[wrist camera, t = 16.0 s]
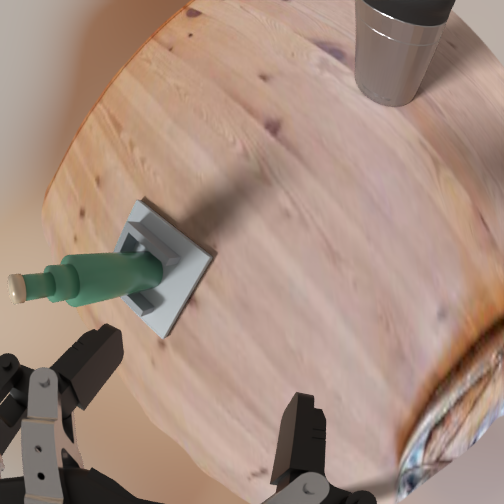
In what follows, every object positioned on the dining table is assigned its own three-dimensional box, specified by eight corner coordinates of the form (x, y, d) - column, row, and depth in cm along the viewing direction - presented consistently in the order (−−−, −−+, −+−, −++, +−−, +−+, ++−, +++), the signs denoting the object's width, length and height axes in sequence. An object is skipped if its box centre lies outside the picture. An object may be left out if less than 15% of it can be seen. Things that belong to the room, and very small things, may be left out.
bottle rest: (140, 200, 41) (124, 197, 37) (213, 257, 37) (199, 259, 34) (106, 277, 44) (91, 280, 41) (166, 337, 41) (151, 345, 37)
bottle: (143, 243, 40) (7, 246, 18) (169, 266, 39) (25, 286, 16) (129, 273, 41) (1, 292, 19) (152, 296, 40) (20, 332, 18)
